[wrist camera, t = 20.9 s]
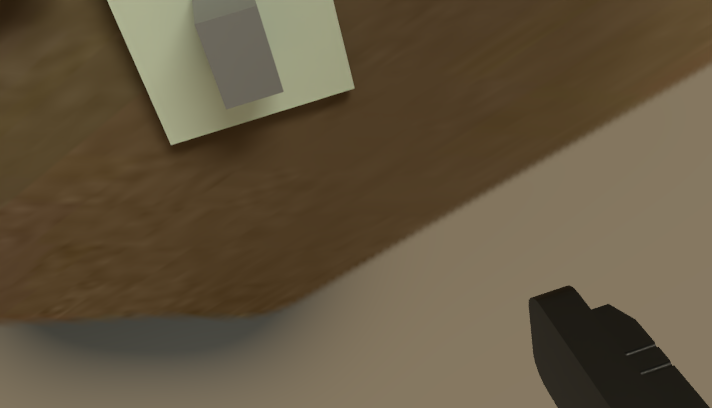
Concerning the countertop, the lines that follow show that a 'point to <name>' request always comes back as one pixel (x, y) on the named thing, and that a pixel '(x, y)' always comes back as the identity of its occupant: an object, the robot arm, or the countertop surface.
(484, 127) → the countertop surface
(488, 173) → the countertop surface
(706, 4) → the countertop surface
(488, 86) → the countertop surface
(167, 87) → the snap lid
